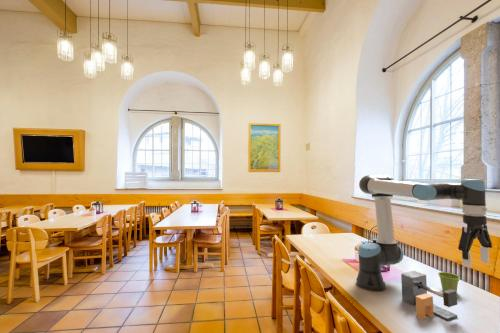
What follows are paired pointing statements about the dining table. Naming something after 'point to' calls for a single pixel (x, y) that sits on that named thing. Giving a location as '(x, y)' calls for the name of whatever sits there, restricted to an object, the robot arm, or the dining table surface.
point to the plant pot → (448, 281)
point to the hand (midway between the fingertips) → (476, 264)
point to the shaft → (443, 295)
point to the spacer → (424, 306)
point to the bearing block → (420, 292)
